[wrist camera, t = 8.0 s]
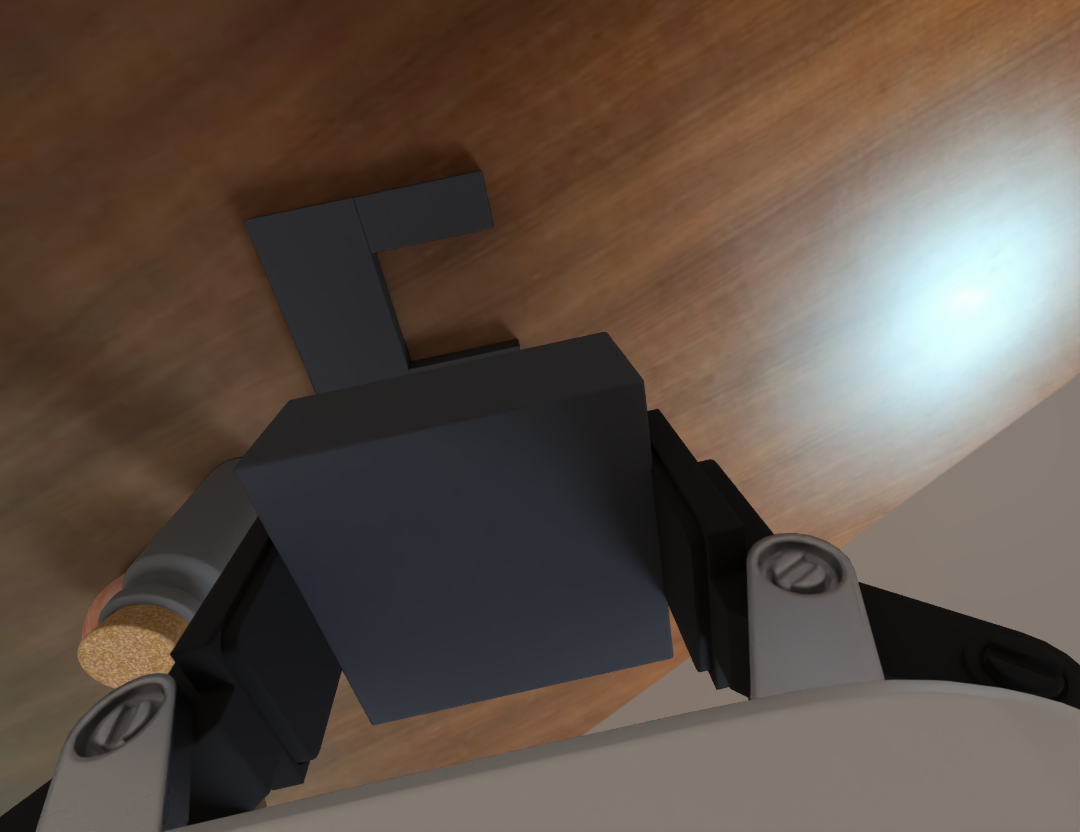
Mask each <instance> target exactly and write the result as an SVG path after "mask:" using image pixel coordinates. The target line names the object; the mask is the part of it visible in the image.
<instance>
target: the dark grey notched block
mask: <svg viewBox="0 0 1080 832" xmlns="http://www.w3.org/2000/svg"><path fill="white" fill-rule="evenodd" d="M244 223H245V225H246V228H247V230H248V232H249V235H250V237H251V239H252V242H253V244H254V247H255V249H256V251H257V254H258V256H259V258H260V261H261V263H262V266H263V268H264V270H265V273H266V275H267V277H268V280H269V282H270V285H271V287H272V289H273V292H274V294H275V297H276V299H277V301H278V304H279V306H280V308H281V311H282V313H283V316H284V318H285V320H286V323H287V325H288V327H289V330H290V332H291V335H292V337H293V339H294V342H295V344H296V346H297V349H298V351H299V354H300V356H301V358H302V361H303V363H304V365H305V368H306V370H307V373H308V375H309V377H310V380H311V382H312V385H313V387H314V389H315V392H316V394H321V393H325V392H330V391H335V390H339V389H344V388H348V387H353V386H358V385H362V384H367V383H371V382H376V381H381V380H385V379H390V378H394V377H399V376H404V375H408V374H413V373H417V372H422V371H427V370H431V369H436V368H440V367H445V366H450V365H454V364H459V363H463V362H468V361H473V360H477V359H482V358H486V357H491V356H496V355H500V354H505V353H509V352H514V351H518V350H520V346H519V341H518V339H517V340H512V341H508V342H503V343H498V344H494V345H489V346H484V347H480V348H475V349H470V350H466V351H461V352H456V353H452V354H447V355H442V356H437V357H433V358H428V359H423V360H419V361H414V362H411V361H410V358H409V355H408V352H407V349H406V345H405V342H404V339H403V336H402V333H401V330H400V327H399V323H398V320H397V317H396V314H395V311H394V308H393V305H392V302H391V298H390V295H389V292H388V289H387V286H386V283H385V280H384V277H383V273H382V270H381V267H380V264H379V261H378V258H377V255H376V253H377V252H382V251H386V250H391V249H396V248H401V247H405V246H410V245H415V244H420V243H424V242H429V241H434V240H439V239H443V238H448V237H453V236H458V235H462V234H467V233H472V232H477V231H481V230H486V229H491V228H494V224H493V220H492V215H491V210H490V206H489V201H488V196H487V192H486V187H485V182H484V178H483V173H482V171H481V170H480V171H475V172H471V173H466V174H461V175H456V176H451V177H447V178H442V179H437V180H432V181H427V182H423V183H418V184H413V185H408V186H403V187H399V188H394V189H389V190H384V191H380V192H375V193H370V194H365V195H360V196H356V197H351V198H346V199H341V200H336V201H332V202H327V203H322V204H317V205H313V206H308V207H303V208H298V209H293V210H289V211H284V212H279V213H274V214H269V215H265V216H260V217H255V218H251V219H246V220H244Z"/></svg>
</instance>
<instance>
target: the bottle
mask: <svg viewBox="0 0 1080 832" xmlns="http://www.w3.org/2000/svg"><path fill="white" fill-rule="evenodd" d="M241 459H242V458H236V459H232V460H229V461H226V462H224V463H222V464H221V465H219V466H218V467H217V468H216V469H215V470H214V471H213V472H212V473H211V474H210V475H209V476H208V477H207V478H206V480H205V481H204V482H203V483H202V484H201V485H200V486H199V487H198V488H197V490H196V491H195V492H194V493H193V494H192V495H191V496H190V497H189V499H188V500H187V501H186V502H185V503H184V504H183V505H182V507H181V508H180V509H179V510H178V511H177V512H176V513H175V515H174V516H173V517H172V518H171V519H170V520H169V521H168V523H167V524H166V525H165V526H164V527H163V528H162V529H161V530H160V532H159V533H158V534H157V535H156V536H155V537H154V538H153V540H152V541H151V542H150V543H149V544H148V545H147V547H146V548H145V549H144V550H143V551H142V552H141V554H140V555H139V556H138V557H137V558H136V559H135V561H134V562H133V563H132V564H131V565H130V567H129V568H128V570H127V571H126V573H125V575H124V577H123V582H122V590H121V591H119V592H118V593H116V594H115V595H114V596H113V597H112V598H111V599H110V600H109V602H108V603H107V604H106V605H105V606H104V608H103V609H102V611H101V612H100V615H99V619H98V626H97V627H96V628H94V629H93V630H92V631H91V632H90V633H88V634H87V635H86V636H85V637H84V638H83V639H82V641H81V642H80V644H79V647H78V659H79V662H80V664H81V666H82V667H83V669H84V670H85V671H86V672H87V673H88V674H89V675H90V676H92V677H93V678H94V679H95V680H97V681H99V682H101V683H103V684H104V685H107V686H110V687H112V688H118V687H120V686H122V685H123V684H125V683H127V682H128V681H131V680H133V679H136V678H138V677H141V676H143V675H148V674H153V673H164V674H168V673H169V671H170V670H171V668H172V666H173V665H174V663H175V661H174V660H173V658H172V657H171V656H170V653H171V651H172V650H173V648H174V647H175V645H176V643H177V642H178V640H179V639H180V637H181V636H182V634H183V632H184V631H185V629H186V628H187V626H188V625H189V623H190V622H191V620H192V618H193V617H194V615H195V614H196V612H197V611H198V609H199V607H200V606H201V604H202V603H203V601H204V600H205V598H206V596H207V595H208V593H209V592H210V590H211V589H212V587H213V585H214V584H215V582H216V581H217V579H218V578H219V576H220V574H221V573H222V571H223V570H224V568H225V567H226V565H227V563H228V562H229V560H230V559H231V557H232V556H233V554H234V552H235V551H236V549H237V548H238V546H239V545H240V543H241V542H242V540H243V538H244V537H245V535H246V534H247V532H248V531H249V529H250V527H251V526H252V524H253V523H254V521H255V520H256V518H257V516H258V515H257V513H256V511H255V509H254V507H253V505H252V504H251V502H250V500H249V498H248V496H247V494H246V493H245V491H244V489H243V487H242V485H241V483H240V482H239V480H238V478H237V476H236V474H235V472H234V467H235V466H236V465H237V463H238V462H239V461H240V460H241Z"/></svg>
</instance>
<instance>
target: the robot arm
mask: <svg viewBox="0 0 1080 832" xmlns="http://www.w3.org/2000/svg"><path fill="white" fill-rule="evenodd" d="M647 414H648V423H649V433H650V442H651V451H652V461H653V469H651V473H652V482H653V491H654V500H655V509H656V518H657V527H658V537H659V546H660V555H661V564H662V573H663V582H664V591H665V598H666V600H667V603H668V605H669V607H670V610H671V612H672V614H673V617H674V619H675V621H676V624H677V626H678V628H679V631H680V633H681V635H682V637H683V640H684V642H685V644H686V647H687V649H688V651H689V654H690V656H691V658H692V661H693V663H694V665H695V667H696V669H697V671H698V672H703V671H708V672H709V674H710V676H711V679H712V681H713V683H714V685H715V687H716V690H718V689H722V688H727V687H730V689H732V690H734V691H736V692H738V693H740V694H742V695H744V696H746V697H748V701H743V702H738V703H733V704H729V705H724V706H719V707H714V708H709V709H704V710H699V711H694V712H689V713H684V714H680V715H675V716H671V717H666V718H662V719H657V720H653V721H648V722H644V723H639V724H634V725H630V726H625V727H621V728H616V729H612V730H607V731H603V732H598V733H594V734H589V735H585V736H580V737H575V738H571V739H566V740H562V741H557V742H553V743H548V744H544V745H539V746H535V747H530V748H526V749H521V750H517V751H512V752H508V753H503V754H499V755H494V756H490V757H486V758H481V759H477V760H472V761H468V762H463V763H459V764H455V765H450V766H446V767H441V768H437V769H432V770H428V771H424V772H419V773H415V774H410V775H406V776H402V777H397V778H393V779H388V780H384V781H380V782H375V783H371V784H366V785H362V786H358V787H353V788H349V789H344V790H340V791H336V792H331V793H327V794H322V795H318V796H314V797H309V798H305V799H301V800H297V801H292V802H288V803H284V804H279V805H275V806H271V807H267V805H266V801H265V797H266V796H267V795H268V794H269V793H270V790H271V789H272V790H277V789H281V788H285V787H290V786H294V785H299V784H303V783H304V780H305V776H306V773H307V769H308V766H309V762H310V760H313V759H315V758H316V757H317V755H318V754H319V751H320V748H321V745H322V741H323V737H324V734H325V730H326V726H327V723H328V719H329V715H330V712H331V708H332V704H333V701H334V697H335V693H336V690H337V686H338V683H339V679H340V675H341V672H342V668H341V666H340V664H339V662H338V660H337V659H336V657H335V655H334V653H333V651H332V649H331V648H330V646H329V644H328V642H327V640H326V638H325V636H324V635H323V633H322V631H321V629H320V627H319V625H318V624H317V622H316V620H315V618H314V616H313V614H312V613H311V611H310V609H309V607H308V605H307V603H306V602H305V600H304V598H303V596H302V594H301V592H300V591H299V589H298V587H297V585H296V583H295V581H294V580H293V578H292V576H291V574H290V572H289V570H288V569H287V567H286V565H285V563H284V561H283V559H282V557H281V556H280V554H279V552H278V551H277V550H276V548H275V546H274V544H273V542H272V540H271V539H270V537H269V535H268V533H267V531H266V529H265V527H264V526H263V524H262V522H261V520H260V518H259V516H257V518H256V520H255V521H254V523H253V524H252V526H251V527H250V529H249V531H248V532H247V534H246V535H245V537H244V538H243V540H242V542H241V543H240V545H239V546H238V548H237V549H236V551H235V552H234V554H233V556H232V557H231V559H230V560H229V562H228V563H227V565H226V567H225V568H224V570H223V571H222V573H221V574H220V576H219V578H218V579H217V581H216V582H215V584H214V585H213V587H212V589H211V590H210V592H209V593H208V595H207V596H206V598H205V600H204V601H203V603H202V604H201V606H200V607H199V609H198V611H197V612H196V614H195V615H194V617H193V618H192V620H191V622H190V623H189V625H188V626H187V628H186V629H185V631H184V632H183V634H182V636H181V637H180V639H179V640H178V642H177V643H176V645H175V647H174V648H173V650H172V651H171V653H170V656H171V657H172V658H173V660H174V661H175V663H174V665H173V666H172V668H171V670H170V671H169V673H168V674H164V673H153V674H148V675H143V676H141V677H138V678H136V679H133V680H131V681H128V682H127V683H125V684H123V685H122V686H120V687H118V688H116V689H115V690H113V691H111V692H110V693H109V694H107V695H106V696H105V697H103V698H102V699H101V700H99V701H98V702H97V703H96V704H94V705H93V706H92V707H91V708H90V709H89V710H88V711H87V712H86V713H85V714H84V715H83V716H82V717H81V718H80V719H79V721H78V722H77V723H76V725H75V726H74V727H73V728H72V730H71V731H70V732H69V734H68V736H67V738H66V740H65V742H64V744H63V746H62V749H61V752H60V755H59V758H58V762H57V765H56V768H55V771H54V774H53V778H52V779H51V780H49V781H48V782H47V783H45V784H44V785H43V786H41V787H40V788H39V789H37V790H36V791H35V792H33V793H32V794H31V795H29V796H28V797H27V798H25V799H24V800H22V801H21V802H20V803H18V804H17V805H16V806H14V807H13V808H12V809H10V810H9V811H8V812H6V813H5V814H4V815H2V816H1V817H0V832H1080V665H1079V664H1078V663H1077V662H1076V661H1074V660H1073V659H1072V658H1071V657H1070V656H1068V655H1067V654H1065V653H1064V652H1062V651H1060V650H1059V649H1057V648H1055V647H1053V646H1052V645H1050V644H1048V643H1047V642H1045V641H1042V640H1040V639H1037V638H1035V637H1032V636H1029V635H1027V634H1025V633H1022V632H1019V631H1016V630H1012V629H1009V628H1006V627H1003V626H1000V625H996V624H993V623H990V622H986V621H983V620H980V619H977V618H974V617H970V616H967V615H964V614H961V613H957V612H954V611H951V610H948V609H945V608H941V607H938V606H935V605H932V604H928V603H925V602H922V601H919V600H915V599H912V598H909V597H905V596H902V595H899V594H896V593H893V592H889V591H886V590H883V589H880V588H876V587H873V586H870V585H867V584H863V583H860V582H858V580H857V576H856V573H855V569H854V567H853V565H852V564H851V562H850V559H849V558H848V557H847V556H846V555H845V554H844V553H843V552H842V551H841V550H840V549H839V548H837V547H835V546H834V545H832V544H830V543H828V542H827V541H825V540H822V539H819V538H816V537H813V536H810V535H805V534H798V533H779V534H775V535H774V534H773V533H772V531H771V530H770V529H769V528H768V526H767V525H766V524H765V523H764V521H763V520H762V519H761V518H760V516H759V515H758V514H757V513H756V511H755V510H754V509H753V508H752V506H751V505H750V504H749V503H748V501H747V500H746V499H745V498H744V496H743V495H742V494H741V493H740V491H739V490H738V489H737V488H736V486H735V485H734V484H733V483H732V481H731V480H730V479H729V478H728V476H727V475H726V474H725V473H724V471H723V470H722V469H721V468H720V466H719V465H718V464H717V463H716V462H715V461H714V460H711V459H709V460H705V461H700V462H697V460H696V459H695V458H694V456H693V455H692V454H691V452H690V451H689V450H688V448H687V447H686V446H685V444H684V443H683V441H682V440H681V439H680V437H679V436H678V435H677V433H676V432H675V431H674V429H673V428H672V427H671V425H670V424H669V423H668V421H667V420H666V418H665V417H664V416H663V414H662V413H661V412H660V410H658V409H655V410H650V411H647Z"/></svg>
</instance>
